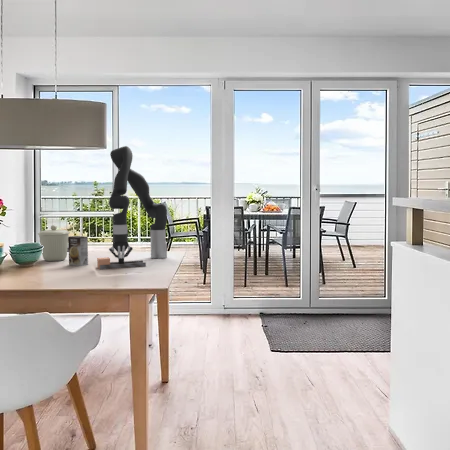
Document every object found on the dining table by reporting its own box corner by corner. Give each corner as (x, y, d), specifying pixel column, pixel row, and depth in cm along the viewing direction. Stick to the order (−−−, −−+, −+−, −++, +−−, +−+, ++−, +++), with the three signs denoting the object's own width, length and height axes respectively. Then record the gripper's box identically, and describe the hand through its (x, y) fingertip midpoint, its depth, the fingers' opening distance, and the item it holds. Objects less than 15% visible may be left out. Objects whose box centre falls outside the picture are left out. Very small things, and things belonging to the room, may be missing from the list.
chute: (142, 265, 281) (142, 260, 281) (146, 268, 272) (145, 262, 271) (98, 268, 273) (98, 262, 272) (100, 271, 263) (100, 265, 263)
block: (108, 266, 273) (108, 257, 272) (110, 268, 267) (110, 258, 267) (97, 267, 271) (97, 257, 270) (98, 268, 265) (98, 259, 265)
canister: (32, 262, 298) (31, 226, 296) (48, 257, 315) (47, 223, 314) (61, 262, 294) (60, 226, 293) (75, 258, 312) (74, 224, 310)
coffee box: (68, 265, 285) (67, 236, 284) (76, 263, 291) (75, 235, 289) (80, 266, 281) (79, 237, 279) (88, 264, 286) (87, 236, 285)
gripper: (131, 231, 276) (132, 263, 278) (106, 232, 272) (108, 264, 274) (133, 233, 269) (134, 265, 271) (108, 234, 265) (109, 267, 266)
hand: (121, 265), depth 272 cm, fingers closed
